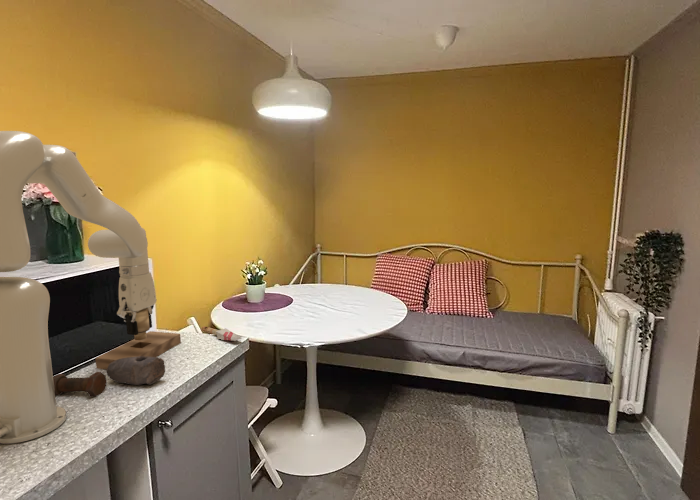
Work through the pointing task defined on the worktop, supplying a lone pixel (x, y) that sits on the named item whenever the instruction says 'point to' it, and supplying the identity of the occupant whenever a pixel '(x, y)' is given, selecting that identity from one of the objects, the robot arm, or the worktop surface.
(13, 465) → the worktop surface
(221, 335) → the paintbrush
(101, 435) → the worktop surface
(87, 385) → the bolt
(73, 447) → the worktop surface
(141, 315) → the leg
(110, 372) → the perforated stone tool
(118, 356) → the board
